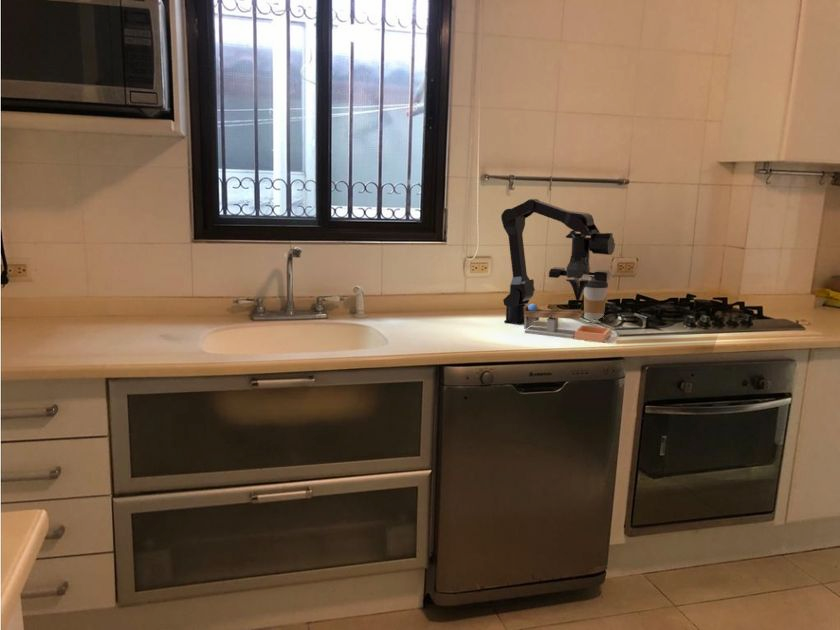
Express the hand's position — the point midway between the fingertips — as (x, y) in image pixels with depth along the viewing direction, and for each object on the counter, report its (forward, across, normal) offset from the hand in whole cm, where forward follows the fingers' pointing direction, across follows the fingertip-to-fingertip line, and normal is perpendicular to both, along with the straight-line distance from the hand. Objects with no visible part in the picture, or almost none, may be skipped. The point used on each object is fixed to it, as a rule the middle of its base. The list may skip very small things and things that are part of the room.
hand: (577, 300), depth 214 cm
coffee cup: (+11, +2, +18) cm, 21 cm away
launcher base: (+11, -7, -6) cm, 14 cm away
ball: (+3, -14, -6) cm, 15 cm away
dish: (+11, +7, -6) cm, 14 cm away
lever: (+7, -6, -3) cm, 10 cm away
